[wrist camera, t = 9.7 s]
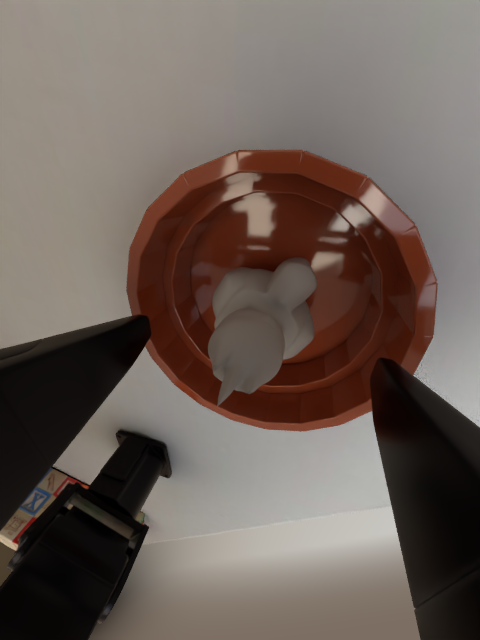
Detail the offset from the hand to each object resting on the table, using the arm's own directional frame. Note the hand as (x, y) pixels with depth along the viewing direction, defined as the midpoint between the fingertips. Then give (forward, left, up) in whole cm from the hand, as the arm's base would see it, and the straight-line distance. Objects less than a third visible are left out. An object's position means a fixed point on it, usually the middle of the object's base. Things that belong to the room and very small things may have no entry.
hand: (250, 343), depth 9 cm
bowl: (0, 0, -6) cm, 6 cm away
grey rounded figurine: (0, 0, -6) cm, 6 cm away
